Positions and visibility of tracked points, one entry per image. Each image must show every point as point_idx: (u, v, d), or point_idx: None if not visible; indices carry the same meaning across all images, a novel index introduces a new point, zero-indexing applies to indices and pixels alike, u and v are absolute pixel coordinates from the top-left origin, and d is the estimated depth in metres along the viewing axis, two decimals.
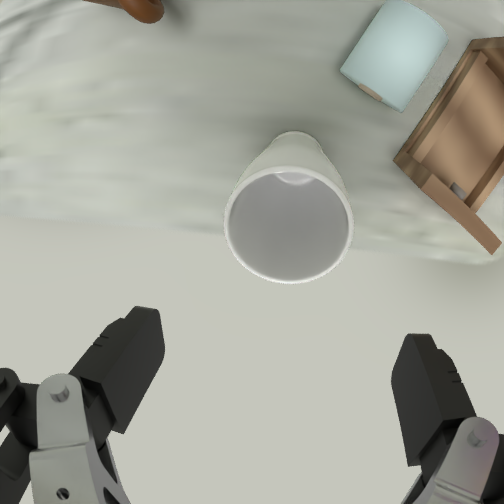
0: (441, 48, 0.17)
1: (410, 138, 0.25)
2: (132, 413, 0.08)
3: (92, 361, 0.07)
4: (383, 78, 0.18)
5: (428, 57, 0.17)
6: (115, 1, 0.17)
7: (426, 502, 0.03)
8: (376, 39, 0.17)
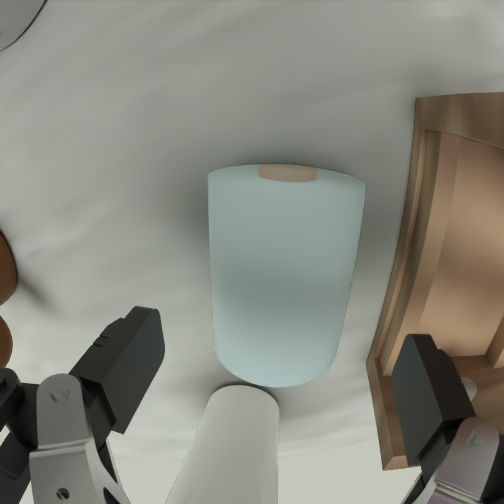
0: (354, 227, 0.10)
1: (377, 335, 0.17)
2: (132, 413, 0.08)
3: (92, 361, 0.07)
4: (264, 368, 0.12)
5: (331, 278, 0.11)
6: None
7: (426, 502, 0.03)
8: (222, 301, 0.12)
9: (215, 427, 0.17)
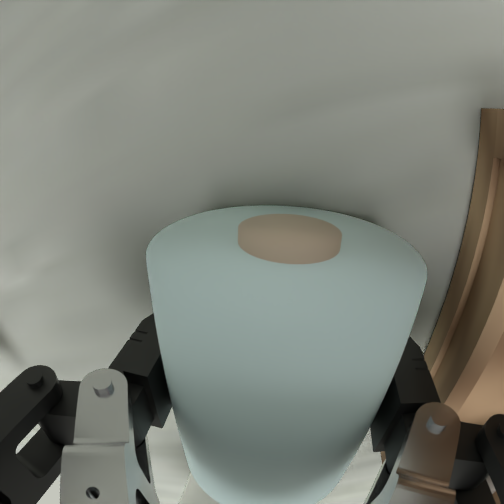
0: (403, 345, 0.05)
1: None
2: (169, 407, 0.08)
3: (134, 355, 0.07)
4: None
5: (355, 425, 0.06)
6: None
7: (390, 495, 0.03)
8: (184, 432, 0.07)
9: None
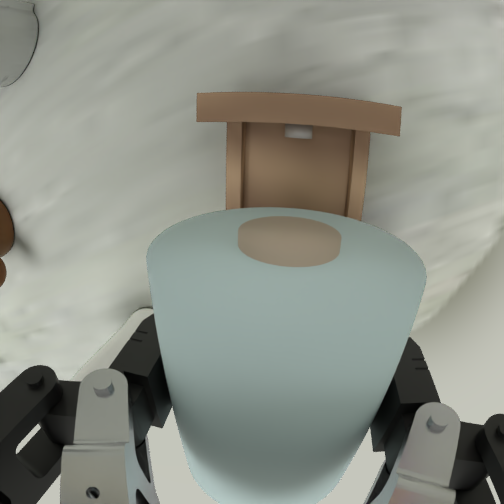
0: (402, 347, 0.05)
1: None
2: (170, 407, 0.08)
3: (134, 355, 0.07)
4: None
5: (355, 426, 0.06)
6: None
7: (390, 495, 0.03)
8: (184, 433, 0.07)
9: (121, 329, 0.26)
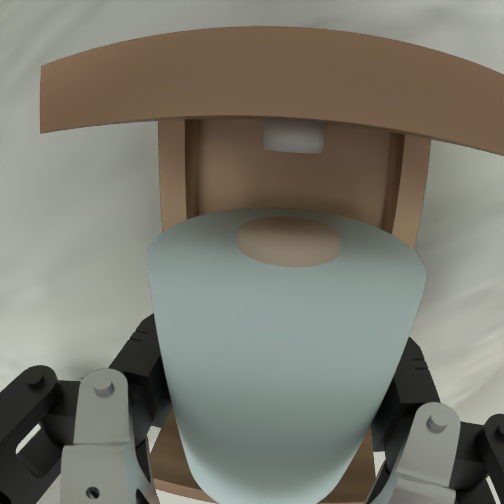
0: (402, 347, 0.05)
1: None
2: (170, 407, 0.08)
3: (134, 355, 0.07)
4: None
5: (354, 426, 0.06)
6: None
7: (390, 495, 0.03)
8: (184, 433, 0.07)
9: None
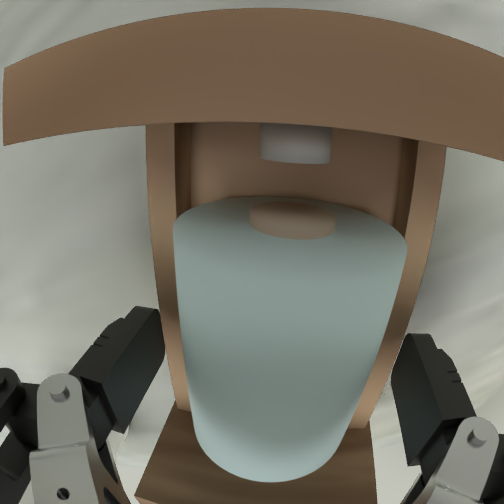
0: (388, 310, 0.07)
1: None
2: (132, 413, 0.08)
3: (92, 361, 0.07)
4: (252, 467, 0.08)
5: (349, 381, 0.07)
6: None
7: (426, 502, 0.03)
8: (197, 393, 0.08)
9: None
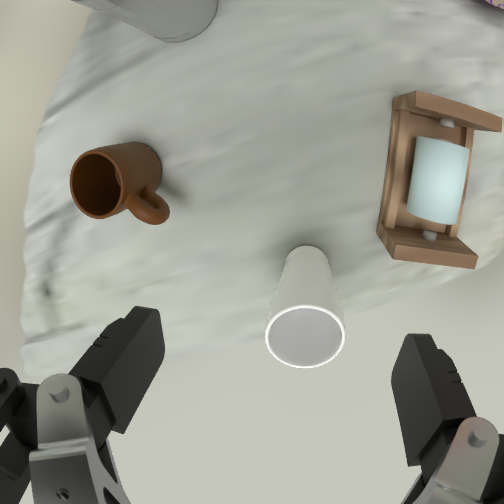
0: (467, 161, 0.25)
1: (381, 210, 0.34)
2: (132, 413, 0.08)
3: (92, 361, 0.07)
4: (441, 212, 0.26)
5: (463, 176, 0.25)
6: None
7: (426, 502, 0.03)
8: (428, 183, 0.26)
9: (298, 257, 0.34)
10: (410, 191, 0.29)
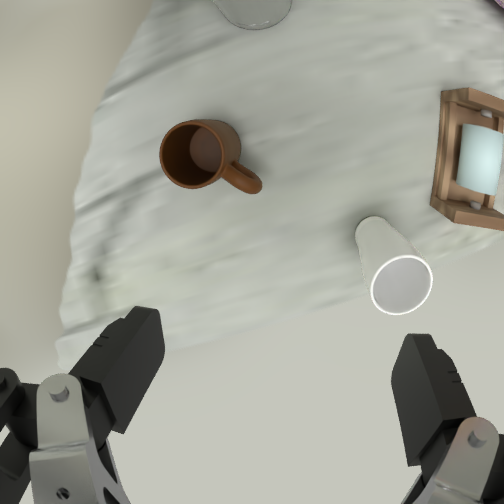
0: None
1: (434, 185, 0.37)
2: (132, 413, 0.08)
3: (92, 361, 0.07)
4: (486, 185, 0.29)
5: (500, 156, 0.28)
6: None
7: (426, 502, 0.03)
8: (475, 161, 0.29)
9: (373, 224, 0.36)
10: (460, 168, 0.32)
